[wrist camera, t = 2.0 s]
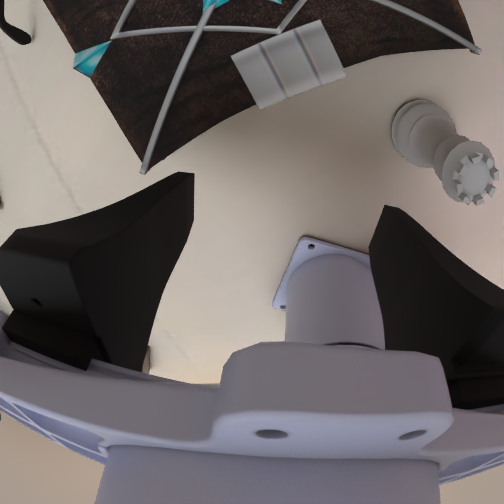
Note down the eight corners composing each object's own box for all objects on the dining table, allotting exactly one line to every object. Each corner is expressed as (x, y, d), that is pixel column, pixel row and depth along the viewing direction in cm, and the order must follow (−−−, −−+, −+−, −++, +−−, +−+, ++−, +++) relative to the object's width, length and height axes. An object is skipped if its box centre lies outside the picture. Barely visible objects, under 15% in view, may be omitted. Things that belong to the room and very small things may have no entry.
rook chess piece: (415, 84, 15) (480, 114, 9) (458, 127, 16) (525, 177, 10) (376, 134, 18) (419, 188, 12) (421, 172, 19) (471, 238, 13)
